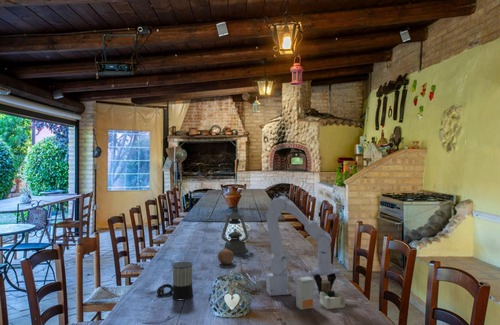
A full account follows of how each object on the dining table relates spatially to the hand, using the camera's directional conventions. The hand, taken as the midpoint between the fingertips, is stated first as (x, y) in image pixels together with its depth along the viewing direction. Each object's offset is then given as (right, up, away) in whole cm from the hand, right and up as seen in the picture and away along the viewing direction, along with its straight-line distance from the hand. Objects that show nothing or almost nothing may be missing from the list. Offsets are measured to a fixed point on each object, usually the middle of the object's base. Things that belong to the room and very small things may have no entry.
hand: (324, 291), depth 170 cm
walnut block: (0, -2, 0) cm, 2 cm away
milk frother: (-67, -3, +3) cm, 67 cm away
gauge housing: (+2, -3, -8) cm, 9 cm away
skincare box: (-10, -3, -11) cm, 15 cm away
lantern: (-43, -2, +87) cm, 97 cm away
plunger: (+1, -2, -5) cm, 5 cm away
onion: (-47, -2, +54) cm, 72 cm away
